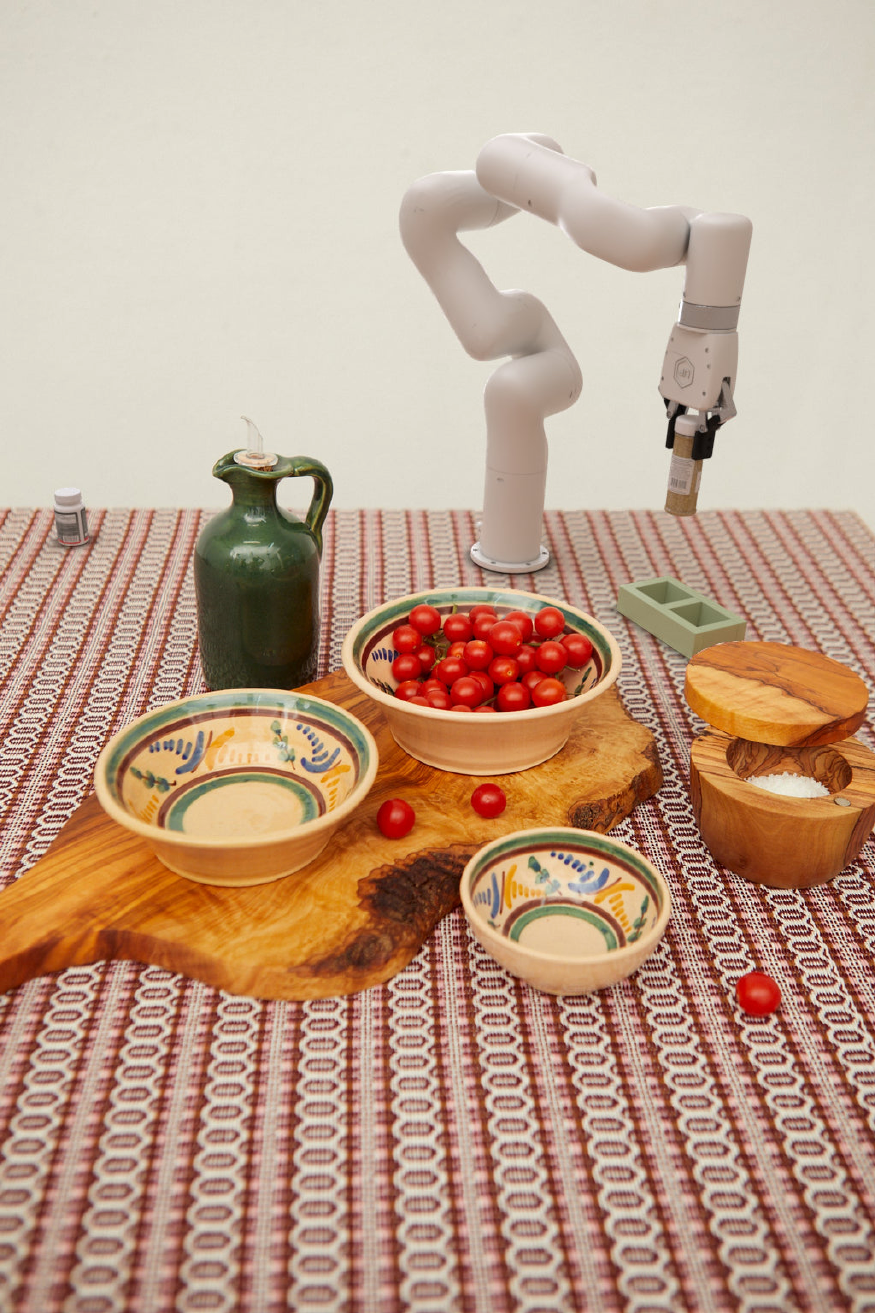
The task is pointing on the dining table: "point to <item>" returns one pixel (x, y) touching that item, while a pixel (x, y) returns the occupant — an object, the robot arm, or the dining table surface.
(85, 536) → the pill bottle
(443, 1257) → the dining table surface
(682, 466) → the sprinkles bottle
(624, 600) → the socket block
